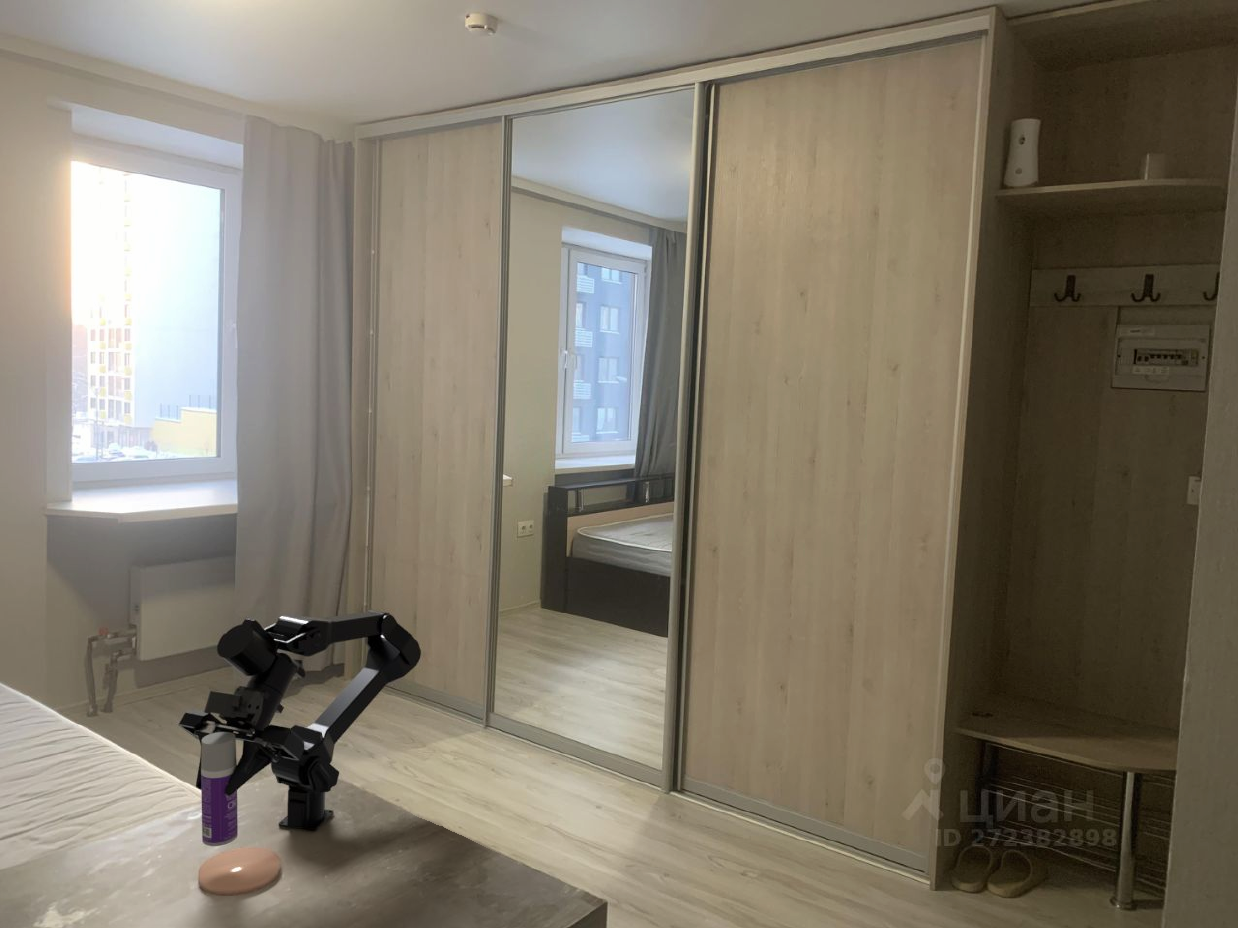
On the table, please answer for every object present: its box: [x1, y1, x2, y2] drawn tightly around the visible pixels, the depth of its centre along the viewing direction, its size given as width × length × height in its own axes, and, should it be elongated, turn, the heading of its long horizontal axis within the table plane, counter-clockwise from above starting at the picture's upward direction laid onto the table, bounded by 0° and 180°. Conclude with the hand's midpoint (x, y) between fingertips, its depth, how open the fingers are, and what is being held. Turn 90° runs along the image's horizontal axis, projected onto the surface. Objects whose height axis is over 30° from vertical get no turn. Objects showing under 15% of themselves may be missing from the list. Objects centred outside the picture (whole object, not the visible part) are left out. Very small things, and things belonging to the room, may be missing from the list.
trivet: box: [197, 846, 281, 896], centre depth 132 cm, size 11×11×1 cm
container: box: [200, 732, 239, 847], centre depth 130 cm, size 5×5×15 cm
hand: (212, 791), depth 129 cm, fingers closed on container, 5 cm apart
